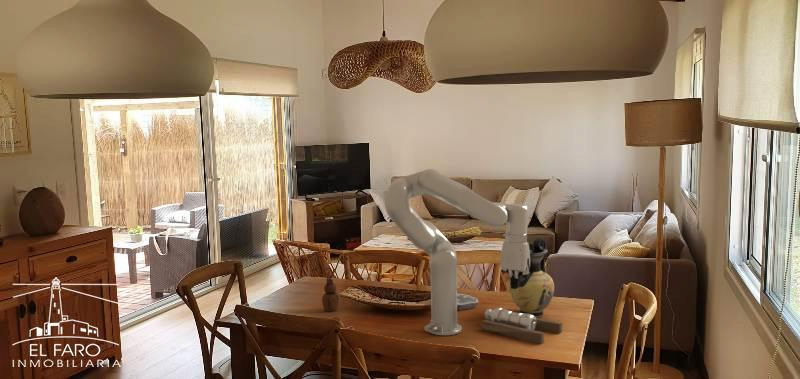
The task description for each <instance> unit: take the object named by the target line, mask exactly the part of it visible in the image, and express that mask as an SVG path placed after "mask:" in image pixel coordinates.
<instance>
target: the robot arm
mask: <svg viewBox="0 0 800 379" xmlns="http://www.w3.org/2000/svg"><path fill="white" fill-rule="evenodd" d="M425 194H427V195H429V196H431V197H433V198H435V199H437V200H440V201H441V202H444V203H446V204H447V205H450V206H452V207H454V208H456V209H457V210H459V211H461V212H464V213H466V214H468V215H469V216H472V217H473V218H475V219H477V220H479V221H480V222H483V223H485V224H487V225H490V226H491V227H499V228H500V227H502V226H503V225H505V233H503V234H502V236H503V238H504V240H503V242H502V246H501V252H500V260H499V261H500V263H499V266H500V267H501V270H502V271H504V272H506V273H507V274H508V277H509V278H510V280H509V286H510V285H511V289H517V288H519V286H520V277H521V276H522V275H526V274H529V268H530V250H529V244H528V243H527V242H528V216H529V208H528V206H527V205H526V204H524V203H523V204H522V203H511V204H510V203H504V202H503V203H502V202H493V201H490V200H488V199H486V198H484V197H482V196H480V195H479V194H478V193H476V192H474V191H473V190H472V189H470V187H468V186H466V185H464V184H462V183H460V182H457V181H456V180H453V179H451V178H449V177H447V176H445V175H443V174H441V173H440V172H439V171H438V170H436V169H434V168H428V169H424V170H421V171H418V172H416V173H412V174H409V175H408V174H407V175H406V176H405V175H404V176H402V177H399V178H396V179H395V180H393V182H391V183H390V185H389V187H388V188H387V191H386V195H385V199H384V200H385V201H384V206H385V211H386V213H387V215H388V217H389V218H390V220H391V221H392V222H393V223H394V225H395V226H396V227H397V228H398V229H399V230H400V232H402V234H404V236H406V238H407V239H408V240H409V241H410V243H412V245H413V246H414V247H415V248H416V249H418V250H422V251H423V252H425V254H426V255H428V257H429V265H430V266H429V269H430V270H429V271H430V274H429V275H430V310H431V312H430V313H431V315H430V317H431V318H430V320H429V323H428V324H427V325H424V327H423V329H424V331H426V332H428V333H430V334H432V335H436V336H452V335H456V334H457V335H458V334H459V333H461V332H462V326H461V325H460V324H459V323H458V310H457V294H458V287H457V286H458V280H457V279H458V277H457V276H458V275H457V274H458V271H457V270H458V257H457V251H456V249H455V247H454V245H453V244H452V242H450V241H449V240H448V238H447V237H446V236H445V235H444V234H443V233H442V232H441V231H440V230H439V229H438V228H437V226H436V225H434V224H433V223H432V222H430V221H429V220H424V219H423V218H422V217H421V216H420V215H419V214H418V213H417V212H416V210H414V208H412V207H411V205H410V201H409V200H410V199H411V198H415V197H419V196H422V195H425Z"/></svg>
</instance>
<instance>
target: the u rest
mask: <svg viewBox="0 0 800 379" xmlns="http://www.w3.org/2000/svg"><path fill="white" fill-rule="evenodd" d="M535 318H536V317H535ZM536 321H537V322H536V327H535V329H534V330H530V329H525V328H520V327H516V326H511V325H507V324H502V323H498V322H493V321H492V320H490V319H484V320H481V330H482V332H488V333H491V334H492V333H493V334H495V335H501V336H505V337H508V338H513V339H518V340H521V339H522V341H526V342H529V343H534V344H540V345H541V344H544V343H545V332H542V331H546V332H549V333H550V332H551V333H554V334H559V335H560V334H561V333H563V322H561V321H555V320H552V319H551V320H550V319H545V318H541V317H537V318H536ZM538 330H539V331H538ZM540 330H541V331H540Z"/></svg>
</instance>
